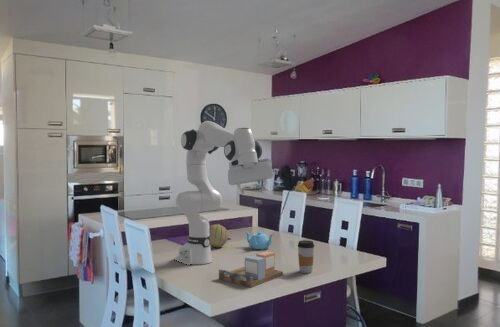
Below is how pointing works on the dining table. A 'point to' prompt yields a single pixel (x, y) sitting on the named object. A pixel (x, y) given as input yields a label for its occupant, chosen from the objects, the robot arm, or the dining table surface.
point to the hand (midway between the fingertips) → (253, 191)
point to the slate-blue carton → (255, 267)
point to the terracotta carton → (268, 261)
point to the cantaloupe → (217, 235)
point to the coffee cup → (305, 256)
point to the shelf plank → (246, 277)
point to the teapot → (259, 241)
